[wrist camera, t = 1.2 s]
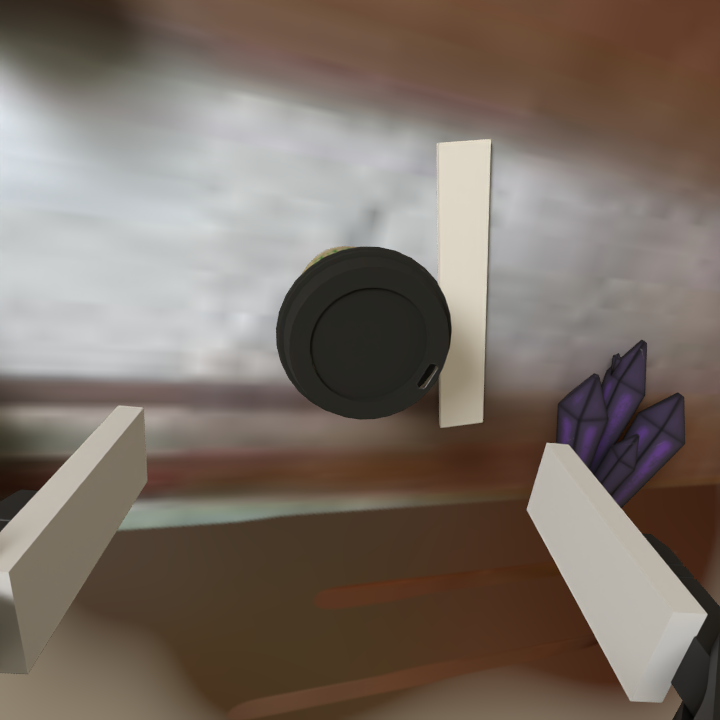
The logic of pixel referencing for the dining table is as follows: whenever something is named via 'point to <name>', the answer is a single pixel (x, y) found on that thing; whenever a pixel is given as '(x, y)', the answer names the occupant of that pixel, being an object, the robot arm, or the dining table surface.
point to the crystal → (621, 426)
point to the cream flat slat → (463, 274)
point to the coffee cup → (363, 331)
